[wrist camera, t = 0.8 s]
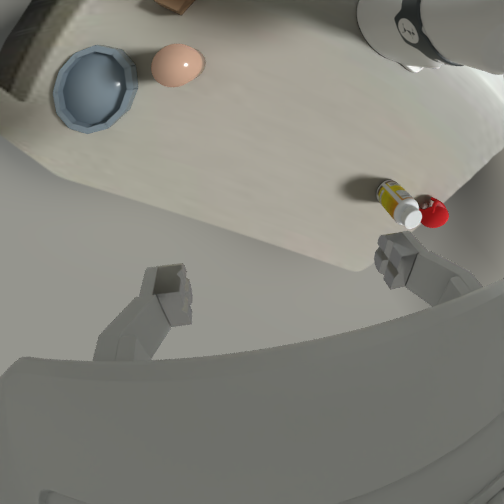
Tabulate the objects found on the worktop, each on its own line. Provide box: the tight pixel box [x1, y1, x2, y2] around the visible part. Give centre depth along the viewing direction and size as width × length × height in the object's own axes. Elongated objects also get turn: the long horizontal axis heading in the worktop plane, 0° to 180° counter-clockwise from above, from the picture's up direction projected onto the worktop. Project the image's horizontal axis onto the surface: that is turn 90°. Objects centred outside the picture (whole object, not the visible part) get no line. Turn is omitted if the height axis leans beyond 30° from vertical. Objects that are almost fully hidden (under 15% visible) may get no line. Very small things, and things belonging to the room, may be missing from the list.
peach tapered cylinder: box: [151, 44, 206, 87], centre depth 27 cm, size 5×5×11 cm
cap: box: [419, 197, 449, 228], centre depth 49 cm, size 8×6×6 cm
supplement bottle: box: [376, 180, 422, 229], centre depth 44 cm, size 6×6×10 cm
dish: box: [53, 45, 138, 134], centre depth 29 cm, size 14×14×2 cm
